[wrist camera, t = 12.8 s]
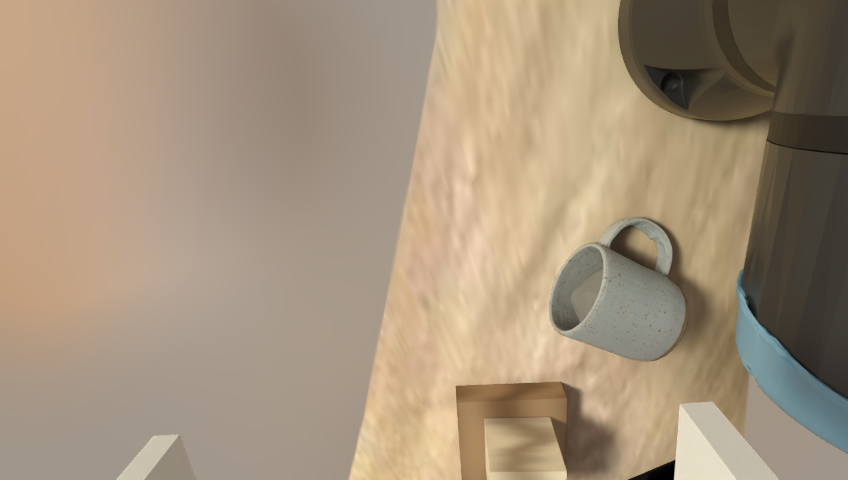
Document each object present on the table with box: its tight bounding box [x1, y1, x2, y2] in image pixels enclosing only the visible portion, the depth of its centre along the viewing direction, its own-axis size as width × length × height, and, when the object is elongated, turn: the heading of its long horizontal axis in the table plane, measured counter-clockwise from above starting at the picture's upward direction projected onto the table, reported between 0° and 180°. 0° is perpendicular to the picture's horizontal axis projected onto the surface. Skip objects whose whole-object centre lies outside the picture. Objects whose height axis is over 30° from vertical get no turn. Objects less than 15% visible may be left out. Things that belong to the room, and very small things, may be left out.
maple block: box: [484, 417, 567, 480], centre depth 38 cm, size 6×6×6 cm
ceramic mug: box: [549, 217, 688, 361], centre depth 34 cm, size 11×8×8 cm
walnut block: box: [456, 382, 567, 480], centre depth 43 cm, size 10×10×3 cm
